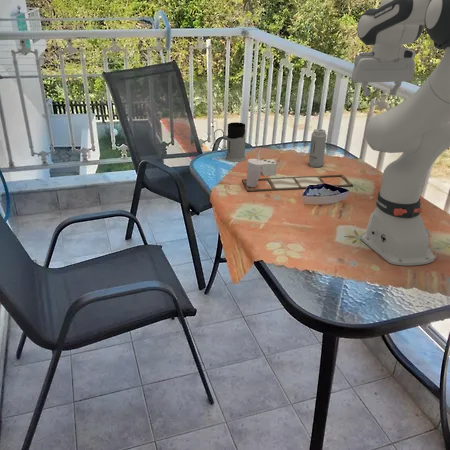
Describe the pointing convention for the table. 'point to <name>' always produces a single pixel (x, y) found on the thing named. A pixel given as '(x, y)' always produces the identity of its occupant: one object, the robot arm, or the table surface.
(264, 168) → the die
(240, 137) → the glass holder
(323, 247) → the table surface
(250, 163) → the smoothie
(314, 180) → the board
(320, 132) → the energy drink can
